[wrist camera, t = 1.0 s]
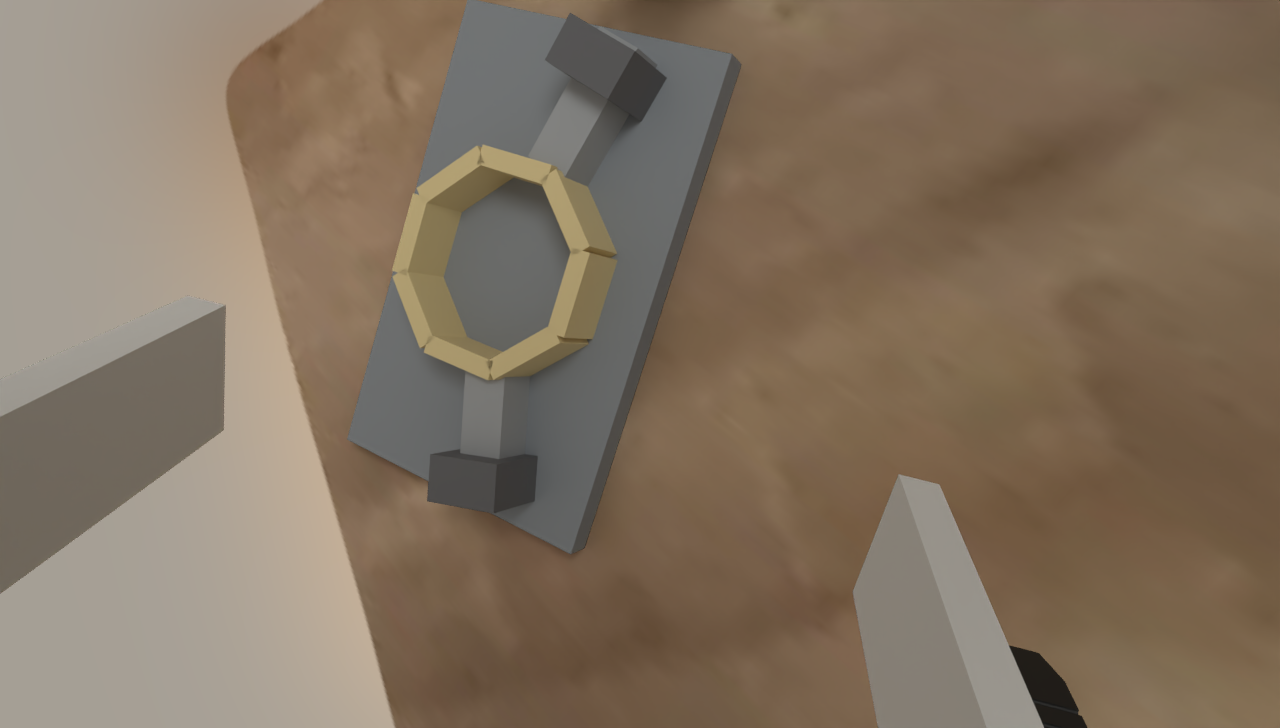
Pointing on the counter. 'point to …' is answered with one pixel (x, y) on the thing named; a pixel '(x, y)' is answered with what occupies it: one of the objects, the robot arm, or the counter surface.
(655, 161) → the stand
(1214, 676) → the counter surface
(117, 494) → the robot arm
